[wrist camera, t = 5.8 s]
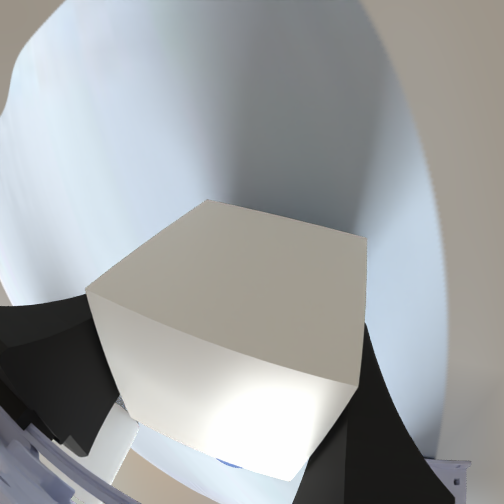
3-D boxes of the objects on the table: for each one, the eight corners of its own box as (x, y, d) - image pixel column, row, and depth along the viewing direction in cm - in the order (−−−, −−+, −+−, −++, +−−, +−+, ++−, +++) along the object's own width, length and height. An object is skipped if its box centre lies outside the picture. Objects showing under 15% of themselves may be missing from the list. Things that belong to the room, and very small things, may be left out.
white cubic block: (366, 237, 10) (358, 387, 5) (325, 355, 13) (289, 481, 8) (206, 199, 11) (84, 288, 6) (204, 317, 14) (130, 417, 9)
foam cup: (86, 375, 29) (19, 448, 18) (151, 420, 28) (88, 507, 17) (94, 407, 34) (43, 468, 23) (149, 444, 33) (101, 512, 22)
